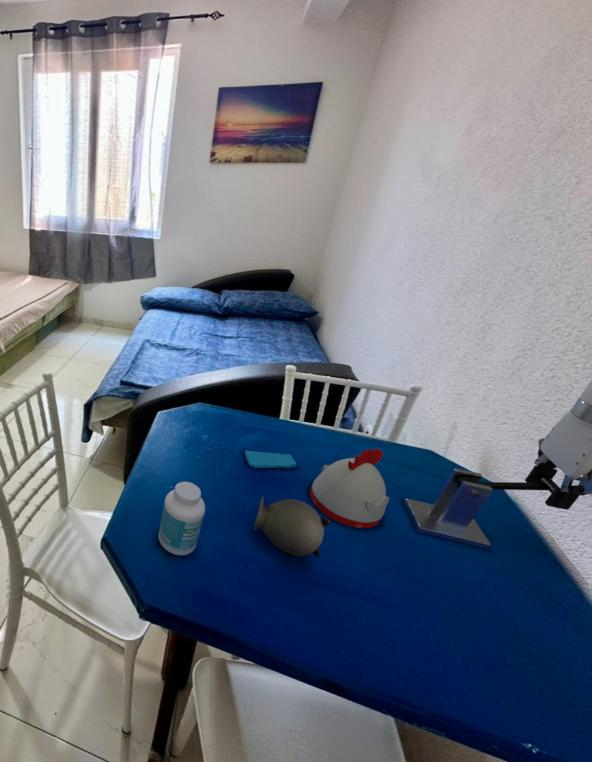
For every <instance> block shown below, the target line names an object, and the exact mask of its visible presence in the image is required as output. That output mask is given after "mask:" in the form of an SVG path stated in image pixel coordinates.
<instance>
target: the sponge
mask: <svg viewBox="0 0 592 762" xmlns="http://www.w3.org/2000/svg"><path fill="white" fill-rule="evenodd" d="M244 457H245V459H246V461H247V464H248V465H249V467H251V468H254V469H275V468H276V469H290V468H291V469H292V468H296V467H297V466H298V464H297V462H296V460H295V459H294V457H293V455H292V454H288V453H282V454H281V453H275V452H267V451H266V452H264V451H254V450H244Z"/></svg>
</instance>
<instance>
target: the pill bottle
mask: <svg viewBox="0 0 592 762" xmlns="http://www.w3.org/2000/svg"><path fill="white" fill-rule="evenodd" d="M201 496H202V492H201V489H200V487H198V485H196V484H195V483H193V482H189V481H180V482H178V483H177V484H176V485H175V487H174V489H173V490H171V491H169V492H168V493H167V495H166V496H165V499H164V503H163V509H162V514H161V519H160V524H159V529H158V530H159V531H158V540H159V541H158V542H159V543H160V545H161V546H162V547H163V548H164V550H166V551H167V552H169V553H171V554H173V555H176V556H187V555H189V554H191V553H193V552H194V550H195V549H196V547H197V544H198V540H199V536H200V533H201V528H202V525H203V521H204V517H205V513H206V504H205V501H204V500H203V498H202V497H201Z"/></svg>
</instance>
